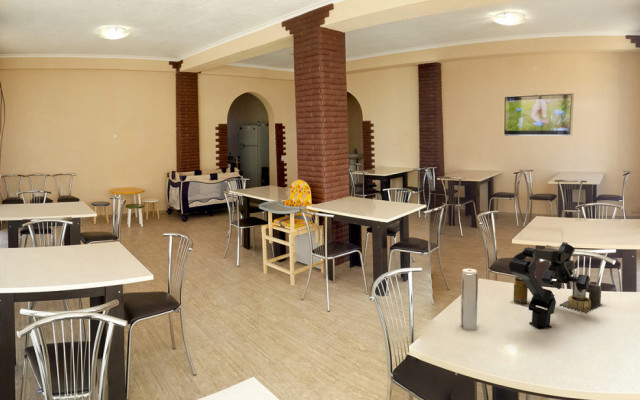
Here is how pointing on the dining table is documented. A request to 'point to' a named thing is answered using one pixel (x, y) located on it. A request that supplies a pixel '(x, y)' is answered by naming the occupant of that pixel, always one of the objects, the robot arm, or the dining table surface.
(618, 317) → the dining table surface
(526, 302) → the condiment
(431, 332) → the dining table surface
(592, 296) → the collar stand
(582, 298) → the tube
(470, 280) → the silver cylinder
